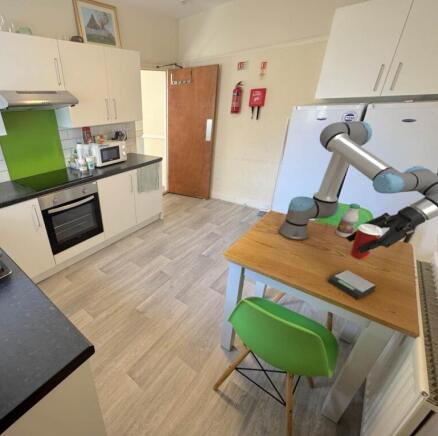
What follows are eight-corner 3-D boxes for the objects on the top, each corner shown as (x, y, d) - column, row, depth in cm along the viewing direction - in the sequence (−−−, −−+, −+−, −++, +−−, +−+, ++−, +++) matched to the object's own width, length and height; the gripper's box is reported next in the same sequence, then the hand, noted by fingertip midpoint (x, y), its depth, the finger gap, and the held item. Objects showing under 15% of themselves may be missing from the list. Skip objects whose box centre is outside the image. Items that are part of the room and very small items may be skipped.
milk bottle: (335, 230, 150) (346, 201, 140) (350, 233, 146) (363, 203, 136) (335, 235, 144) (347, 205, 135) (351, 239, 140) (364, 208, 131)
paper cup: (373, 262, 98) (388, 233, 91) (352, 260, 99) (365, 231, 93) (362, 251, 104) (375, 223, 98) (343, 249, 106) (354, 222, 100)
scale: (344, 274, 114) (346, 269, 113) (373, 290, 104) (376, 285, 103) (328, 281, 110) (330, 276, 109) (357, 299, 100) (360, 294, 99)
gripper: (446, 233, 81) (373, 266, 92) (402, 208, 99) (345, 238, 110) (436, 219, 80) (363, 253, 90) (393, 196, 98) (336, 227, 108)
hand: (353, 245), depth 100 cm, fingers closed on paper cup, 8 cm apart
